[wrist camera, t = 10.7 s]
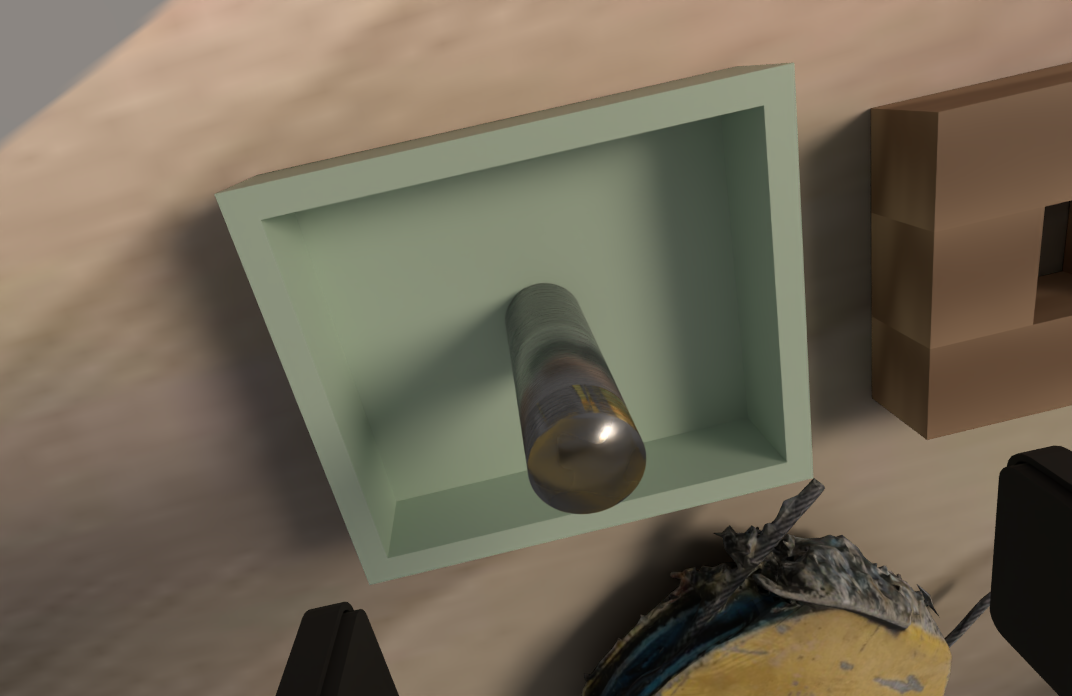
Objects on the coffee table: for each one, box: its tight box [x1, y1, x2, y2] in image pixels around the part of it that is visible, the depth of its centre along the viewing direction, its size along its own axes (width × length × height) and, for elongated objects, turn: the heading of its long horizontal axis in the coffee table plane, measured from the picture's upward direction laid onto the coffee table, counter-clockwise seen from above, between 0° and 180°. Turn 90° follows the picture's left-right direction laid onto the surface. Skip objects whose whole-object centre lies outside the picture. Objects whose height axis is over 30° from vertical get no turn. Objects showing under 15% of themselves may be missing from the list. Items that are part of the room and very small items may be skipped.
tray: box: [215, 63, 813, 585], centre depth 19 cm, size 12×14×4 cm
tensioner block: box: [871, 62, 1072, 440], centre depth 20 cm, size 10×10×3 cm
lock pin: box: [505, 283, 646, 514], centre depth 17 cm, size 2×2×8 cm
